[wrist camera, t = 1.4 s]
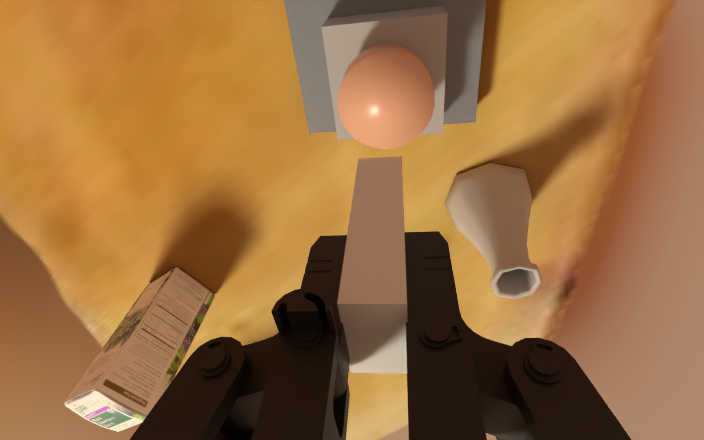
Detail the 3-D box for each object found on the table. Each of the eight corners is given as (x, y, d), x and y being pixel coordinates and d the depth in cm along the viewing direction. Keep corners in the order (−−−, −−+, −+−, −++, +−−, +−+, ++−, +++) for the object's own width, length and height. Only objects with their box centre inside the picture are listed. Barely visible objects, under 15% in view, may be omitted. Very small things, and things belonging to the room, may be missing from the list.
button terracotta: (340, 39, 23) (331, 59, 19) (429, 30, 22) (435, 49, 19) (350, 122, 26) (343, 151, 22) (428, 116, 25) (433, 146, 22)
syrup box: (187, 310, 47) (120, 436, 35) (146, 282, 44) (59, 408, 32) (216, 294, 44) (155, 423, 33) (175, 263, 41) (92, 391, 30)
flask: (537, 156, 30) (588, 238, 22) (526, 227, 35) (565, 316, 27) (444, 165, 31) (461, 245, 24) (444, 232, 36) (459, 319, 28)
